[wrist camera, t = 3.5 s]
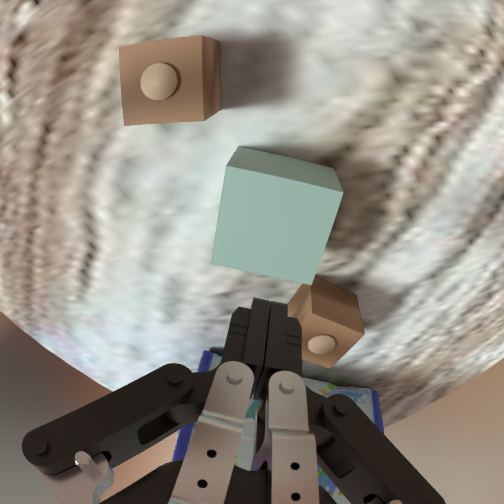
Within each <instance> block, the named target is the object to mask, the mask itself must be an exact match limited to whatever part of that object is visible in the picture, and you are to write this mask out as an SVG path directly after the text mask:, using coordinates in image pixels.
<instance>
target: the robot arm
mask: <svg viewBox="0 0 504 504" xmlns="http://www.w3.org/2000/svg"><path fill="white" fill-rule="evenodd" d="M253 393H254V394H253ZM252 395H253V399H254V400H259V403H258V410H257V412H256V415H255V428H254V452H253V460H252V464H251V470H250V471H249V470H245V469H243V468H240V467H238V466H236V465H234V462H235V459H236V455H237V451H238V447H239V443H240V439H241V435H242V431H243V423H244V419H245V415H246V411H247V407H248V403H249V399H251V398H252ZM194 422H197V424H196V427H195V430H194V432H193V435H192V438H191V441H190V444H189V447H188V450H187V452H186V455H185V458H184V459H182V460H176V461H172V462H169V463H166V464H164V465H161V466H159V467H158V468H156V469H155V470H153V471H152V472H150V473H149V474H147V475H146V476H144V477H142V478H141V479H139V480H138V481H136V482H134V483H133V484H131V485H130V486H128V487H126V488H125V489H123V490H121V491H120V492H118V493H116V494H115V495H113V496H111V497H109V498H108V499H106V500H104V501H102V502H101V503H100V499H101V496H102V494H103V493H104V492H105V491H106V490H107V489H108V488H110V487H111V486H112V484H113V482H114V472H113V469H112V468H114V467H116V466H118V465H120V464H121V463H123V462H125V461H127V460H128V459H130V458H132V457H134V456H136V455H138V454H139V453H141V452H143V451H144V450H146V449H148V448H150V447H151V446H153V445H155V444H156V443H158V442H160V441H161V440H163V439H165V438H166V437H168V436H170V435H171V434H173V433H174V432H176V431H178V430H179V429H181V428H183V427H184V426H186V425H187V424H188V423H194ZM22 451H23V454H24V456H25V457H26V459H27V460H28V461H29V462H30V463H31V464H33V465H34V467H35V468H36V469H37V470H38V471H39V472H40V473H41V474H43V475H44V477H45V479H46V480H47V482H48V484H49V486H50V488H51V489H52V491H53V493H54V494H55V496H56V498H57V499H58V501H59V502H60V504H337V503H336V502H335V500H334V499H333V498H332V497H331V495H330V494H329V493H328V492H327V491H326V490H325V489H324V488H323V487H322V486H321V485H319V484H318V469H317V464H318V465H319V466H320V467H321V469H322V470H323V471H324V472H325V473H326V475H327V476H328V477H329V478H330V479H331V481H332V482H333V483H334V484H335V485H336V487H337V488H338V489H339V490H340V491H341V493H342V494H343V495H344V496H345V497H346V498H347V500H348V501H349V502H350V503H351V504H446V503H445V501H444V499H443V498H442V497H441V495H439V493H438V492H437V491H436V490H435V489H434V488H433V487H432V486H431V485H430V484H429V483H428V482H427V481H426V479H425V478H424V477H423V476H422V475H421V474H420V473H419V472H418V471H417V470H416V469H415V468H414V467H413V466H412V464H411V463H410V462H409V461H408V460H407V459H406V458H405V457H404V456H403V455H402V454H401V453H400V452H399V450H398V449H397V448H396V447H395V446H394V445H393V444H392V443H391V442H390V441H389V439H388V438H387V437H386V436H385V435H384V434H383V433H382V432H381V431H380V430H379V428H378V427H377V426H376V425H375V424H374V423H373V422H372V421H371V420H370V418H369V417H368V416H367V415H366V414H365V413H364V412H363V411H362V410H361V408H360V407H359V406H358V405H357V404H356V403H355V402H354V401H353V400H352V399H351V398H350V397H348V396H346V395H343V394H333V395H331V396H329V397H328V398H327V397H325V396H322V395H320V394H318V393H316V392H314V391H312V390H311V389H309V388H308V387H307V386H306V385H305V383H304V381H303V379H302V327H301V325H300V323H299V321H298V319H297V318H293V317H288V304H284V303H279V302H274V301H271V302H270V301H269V300H264V299H259V298H254V297H253V301H252V305H251V309H248V308H243V307H238V308H237V309H236V310H235V311H234V313H233V314H232V317H231V321H230V326H229V330H228V334H227V338H226V343H225V347H224V351H223V355H222V359H221V362H220V364H219V365H218V366H217V367H216V368H214V369H213V370H210V371H207V372H194V373H192V372H191V370H190V369H189V368H187V367H186V366H184V365H181V364H177V363H171V364H166V365H164V366H162V367H160V368H158V369H156V370H154V371H153V372H151V373H149V374H147V375H145V376H143V377H141V378H139V379H137V380H135V381H133V382H131V383H129V384H128V385H126V386H124V387H122V388H120V389H118V390H116V391H114V392H112V393H110V394H108V395H106V396H104V397H102V398H100V399H98V400H96V401H94V402H91V403H89V404H88V405H86V406H83V407H81V408H79V409H77V410H75V411H73V412H71V413H69V414H66V415H64V416H62V417H60V418H58V419H56V420H54V421H51V422H49V423H47V424H45V425H43V426H40V427H38V428H36V429H34V430H32V431H30V432H29V433H27V434H26V435H25V437H24V439H23V442H22Z"/></svg>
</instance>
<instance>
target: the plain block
mask: <svg viewBox="0 0 504 504" xmlns="http://www.w3.org/2000/svg"><path fill="white" fill-rule="evenodd" d="M343 193H344V192H343V190H342V187H341V185H340V182H339V180H338V177H337V175H336V173H335V170H334V168H331V167H328V166H324V165H320V164H316V163H312V162H308V161H304V160H299V159H295V158H291V157H287V156H282V155H278V154H273V153H269V152H264V151H259V150H254V149H250V148H245V147H240V146H238V148H237V149H236V151H235V152H234V154H233V156H232V157H231V159H230V161H229V162H228V164H227V165H226V170H225V176H224V182H223V189H222V195H221V201H220V208H219V214H218V221H217V227H216V234H215V241H214V248H213V255H212V262H211V264H215V265H219V266H224V267H228V268H233V269H237V270H242V271H247V272H251V273H256V274H261V275H265V276H270V277H275V278H279V279H284V280H289V281H294V282H299V283H303V284H308V285H312V282H313V279H314V277H315V274H316V271H317V269H318V266H319V263H320V260H321V257H322V255H323V252H324V249H325V246H326V243H327V241H328V238H329V235H330V232H331V229H332V226H333V223H334V220H335V217H336V214H337V211H338V208H339V205H340V202H341V199H342V196H343Z"/></svg>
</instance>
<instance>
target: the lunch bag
mask: <svg viewBox="0 0 504 504" xmlns="http://www.w3.org/2000/svg"><path fill="white" fill-rule="evenodd" d="M221 359H222V356H219V355H218V354H215V353H212V352H209V351H206V350H205V351H203V355H202V358H201V360H200V364H199V367H198V372H207V371H210V370H213V369H214V368H216V367H217V366H218V365H219V364H220V362H221ZM302 379H303V381H304V383H305V385H306V386H307V387H308V388H309V389H311V390H312V391H314V392H316V393H318V394H320V395H322V396H325V397H327V398H328V397H329V396H331V395H333V394H343V395H346V396H348V397H350V398H351V399H352V400H353V401H354V402H355V403H356V404H357V405H358V406H359V407H360V408H361V410H362V411H363V412H364V413H365V414H366V415H367V416H368V417H369V418H370V420H371V421H372V422H373V423H374V424H375V425H376V426H377V427H378V428H379V430H380V431H381V432H382V433H383V434H384V429H383V421H382V416H381V410H380V405H379V398H378V393H377V391H375V390H371V389H368V388H359V387H340V386H336V385H334V384H331V383H328V382H323V381H317V380H313V379H309V378H304V377H302ZM253 394H254V393H253ZM258 403H259V400H254V399H253V395H252V398H251V399H249V403H248V407H247V411H246V415H245V419H244V423H243V431H242V435H241V439H240V443H239V447H238V451H237V455H236V459H235V462H234V465H236V466H238V467H240V468H243V469H245V470H249V471H250V470H251V464H252V460H253V452H254V428H255V415H256V412H257V410H258ZM196 424H197V422H194V423H188V424H187V425H186V426H184V427H183V428H181V429H179V431H178V434H177V440H176V446H175V450H174V454H173V458H172V461H176V460H182V459H184V458H185V455H186V452H187V450H188V447H189V444H190V441H191V438H192V435H193V432H194V430H195V427H196ZM317 469H318V484H319V485H321V486H322V487H323V488H324V489H325V490H326V491H327V492H328V493H329V494H330V495H331V497H332V498H333V499H334V500H335V502H336V503H337V504H351V503H350V502H349V501H348V500H347V498H346V497H345V496H344V495H343V494H342V493H341V491H340V490H339V489H338V488H337V487H336V485H335V484H334V483H333V482H332V481H331V479H330V478H329V477H328V476H327V475H326V473H325V472H324V471H323V470H322V469H321V467H320V466H319V465H318V464H317Z"/></svg>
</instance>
